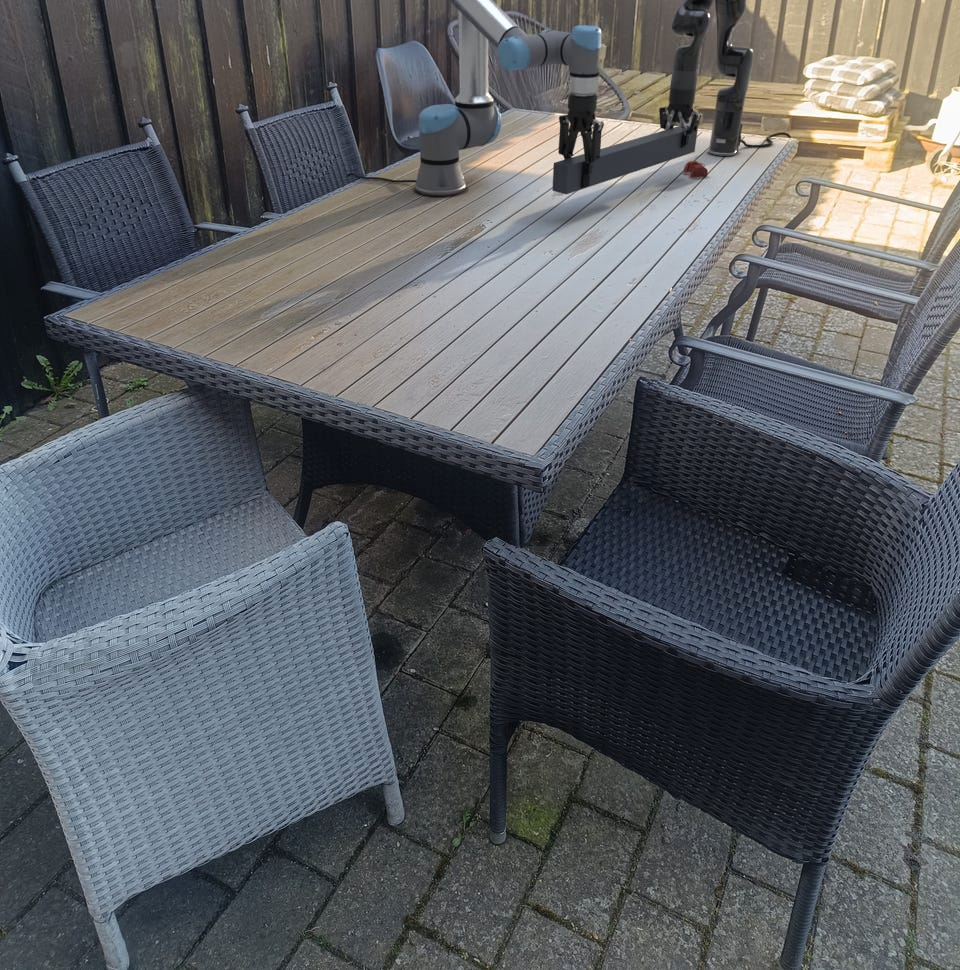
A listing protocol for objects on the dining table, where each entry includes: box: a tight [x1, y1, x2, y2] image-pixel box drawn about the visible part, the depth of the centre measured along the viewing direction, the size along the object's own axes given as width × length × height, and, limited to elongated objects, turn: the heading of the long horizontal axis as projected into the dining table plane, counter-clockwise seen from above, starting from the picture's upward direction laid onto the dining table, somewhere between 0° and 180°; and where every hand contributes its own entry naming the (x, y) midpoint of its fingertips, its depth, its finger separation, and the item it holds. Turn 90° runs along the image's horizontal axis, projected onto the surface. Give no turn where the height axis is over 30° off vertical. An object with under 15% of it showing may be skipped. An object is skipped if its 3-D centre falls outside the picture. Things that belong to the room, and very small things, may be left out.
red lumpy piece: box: [683, 160, 709, 178], centre depth 270 cm, size 6×4×8 cm
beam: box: [552, 125, 699, 195], centre depth 245 cm, size 63×5×7 cm, turn 135°
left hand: (576, 184), depth 233 cm, fingers closed on beam, 5 cm apart
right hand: (675, 145), depth 259 cm, fingers closed on beam, 5 cm apart
